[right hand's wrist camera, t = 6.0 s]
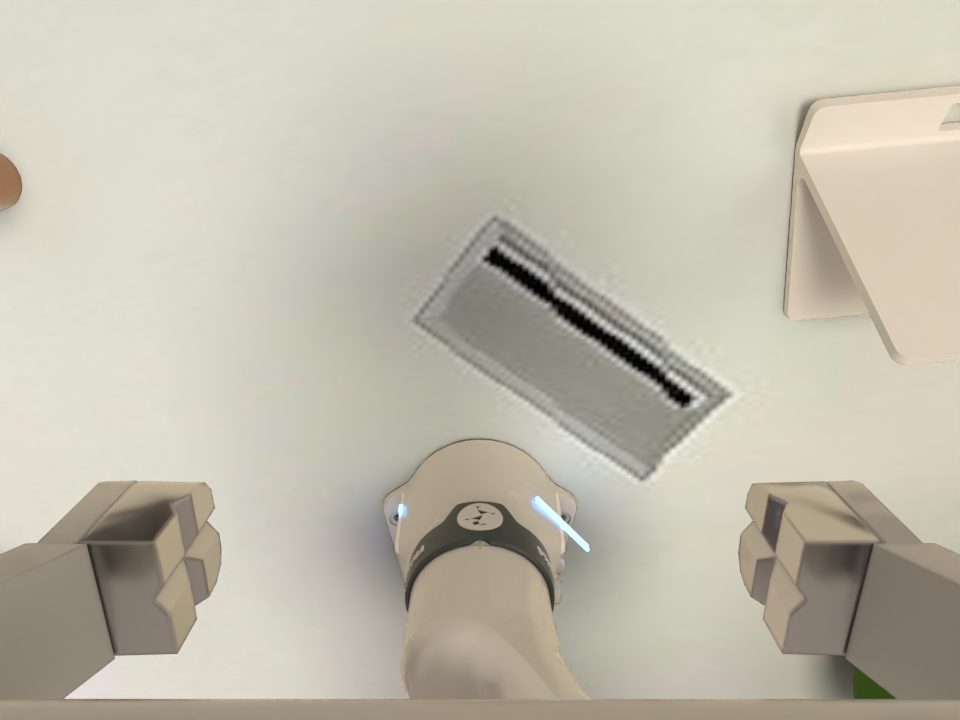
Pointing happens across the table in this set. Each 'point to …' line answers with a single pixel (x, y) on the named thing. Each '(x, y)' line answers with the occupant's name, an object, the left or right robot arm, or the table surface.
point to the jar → (8, 183)
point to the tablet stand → (880, 219)
